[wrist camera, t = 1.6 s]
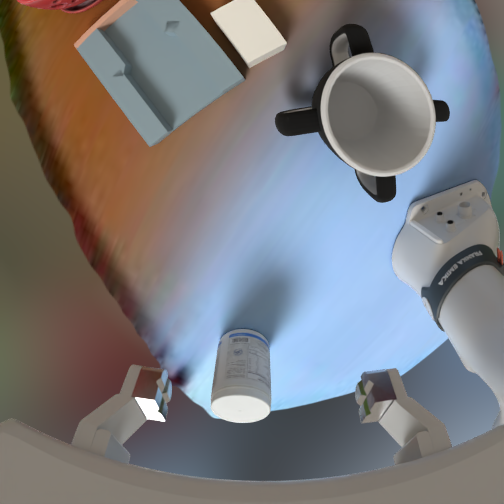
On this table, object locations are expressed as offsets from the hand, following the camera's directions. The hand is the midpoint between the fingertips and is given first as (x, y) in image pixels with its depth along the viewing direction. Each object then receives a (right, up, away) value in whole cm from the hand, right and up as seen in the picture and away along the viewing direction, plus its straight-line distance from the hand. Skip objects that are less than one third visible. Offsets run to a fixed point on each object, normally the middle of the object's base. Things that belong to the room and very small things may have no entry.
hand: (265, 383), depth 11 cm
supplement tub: (-2, -12, +41) cm, 43 cm away
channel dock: (-13, +30, +18) cm, 38 cm away
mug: (+12, +24, +22) cm, 34 cm away
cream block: (-1, +32, +17) cm, 36 cm away
